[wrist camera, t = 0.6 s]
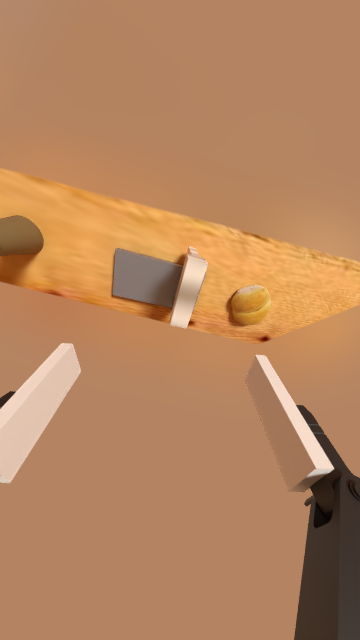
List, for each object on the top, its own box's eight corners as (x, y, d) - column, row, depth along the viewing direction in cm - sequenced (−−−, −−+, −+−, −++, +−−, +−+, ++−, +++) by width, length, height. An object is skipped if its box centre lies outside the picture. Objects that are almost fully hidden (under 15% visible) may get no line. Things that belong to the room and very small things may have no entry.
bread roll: (233, 324, 42) (238, 334, 38) (227, 290, 37) (233, 298, 34) (268, 315, 40) (277, 324, 37) (267, 279, 36) (277, 286, 32)
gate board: (114, 292, 36) (112, 294, 35) (117, 247, 32) (115, 249, 31) (191, 309, 39) (192, 312, 38) (204, 270, 34) (206, 272, 33)
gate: (181, 307, 36) (183, 337, 27) (169, 304, 36) (167, 334, 27) (198, 249, 30) (208, 264, 21) (184, 245, 30) (188, 258, 21)
